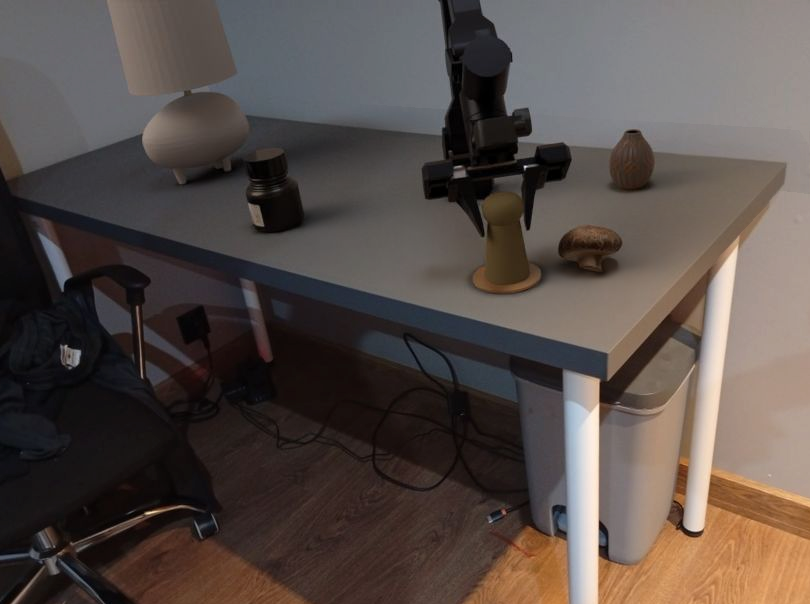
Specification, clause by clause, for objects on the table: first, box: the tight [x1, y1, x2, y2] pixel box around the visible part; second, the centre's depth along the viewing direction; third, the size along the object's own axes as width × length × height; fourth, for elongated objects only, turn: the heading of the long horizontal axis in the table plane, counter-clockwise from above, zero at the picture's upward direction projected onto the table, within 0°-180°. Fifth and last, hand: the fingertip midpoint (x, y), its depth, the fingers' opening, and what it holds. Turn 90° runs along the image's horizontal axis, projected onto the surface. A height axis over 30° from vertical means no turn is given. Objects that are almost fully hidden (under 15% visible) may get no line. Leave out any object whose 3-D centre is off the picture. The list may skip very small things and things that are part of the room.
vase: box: [608, 128, 656, 190], centre depth 117 cm, size 7×7×9 cm
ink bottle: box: [242, 147, 305, 233], centre depth 123 cm, size 10×9×12 cm
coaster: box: [472, 261, 542, 295], centre depth 97 cm, size 9×9×1 cm
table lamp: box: [106, 0, 250, 185], centre depth 146 cm, size 23×22×40 cm
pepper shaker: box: [481, 191, 530, 285], centre depth 94 cm, size 6×6×11 cm
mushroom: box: [557, 224, 623, 273], centre depth 95 cm, size 8×8×6 cm
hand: (505, 232), depth 92 cm, fingers open, 5 cm apart
